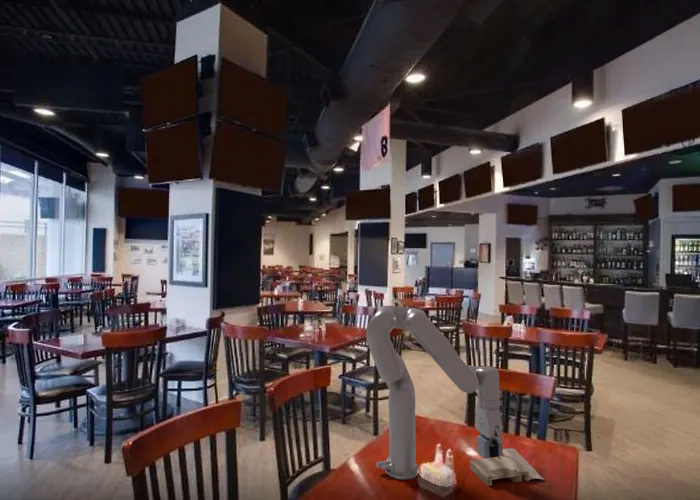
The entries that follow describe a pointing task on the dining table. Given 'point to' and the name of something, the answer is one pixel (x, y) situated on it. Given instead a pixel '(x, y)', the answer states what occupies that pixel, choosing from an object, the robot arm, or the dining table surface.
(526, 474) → the miniature wooden pallet
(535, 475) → the beige piece
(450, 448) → the dining table surface
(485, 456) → the grey hollow block
